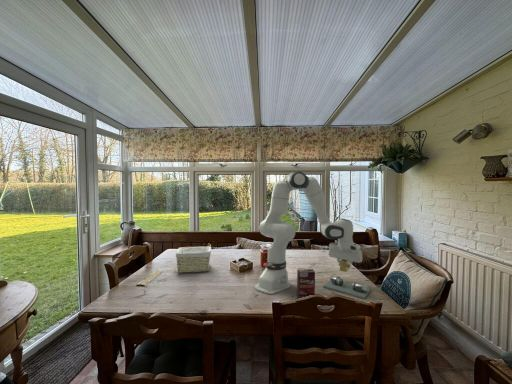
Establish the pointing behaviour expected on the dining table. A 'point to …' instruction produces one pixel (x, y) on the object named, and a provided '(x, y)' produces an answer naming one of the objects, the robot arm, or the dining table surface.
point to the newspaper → (150, 277)
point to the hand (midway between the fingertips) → (344, 266)
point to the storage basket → (193, 259)
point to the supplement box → (305, 282)
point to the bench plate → (346, 289)
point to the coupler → (344, 265)
